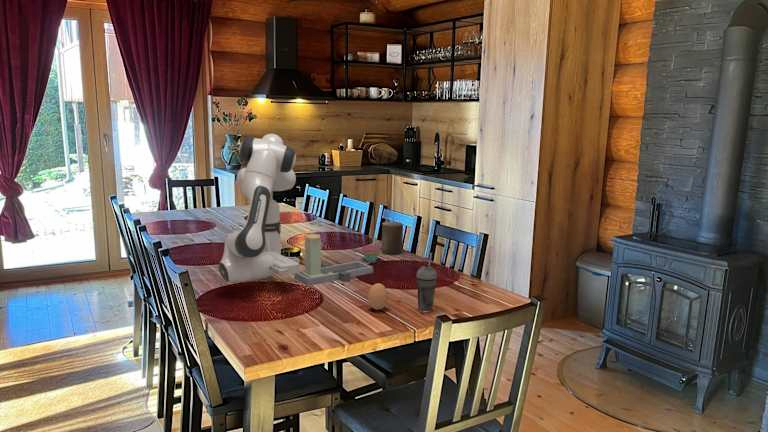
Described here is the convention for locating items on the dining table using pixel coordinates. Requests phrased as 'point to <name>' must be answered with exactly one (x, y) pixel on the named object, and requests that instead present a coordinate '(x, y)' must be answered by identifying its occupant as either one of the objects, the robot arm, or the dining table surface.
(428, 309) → the beverage cup
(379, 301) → the egg
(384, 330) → the dining table surface
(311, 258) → the sage green tall block
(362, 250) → the cupcake
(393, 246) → the pillar candle
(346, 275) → the grey divided tray
